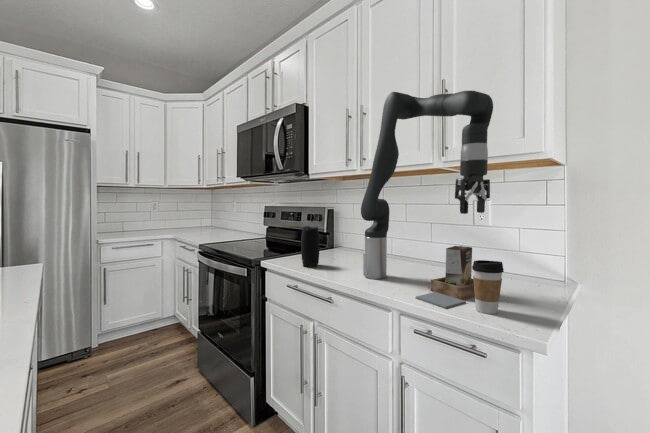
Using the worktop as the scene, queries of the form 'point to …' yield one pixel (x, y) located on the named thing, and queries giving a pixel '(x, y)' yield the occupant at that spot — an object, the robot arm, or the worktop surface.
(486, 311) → the coffee cup
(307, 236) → the portable speaker
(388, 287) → the worktop surface
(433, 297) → the slate mat
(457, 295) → the walnut caddy
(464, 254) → the coffee box
